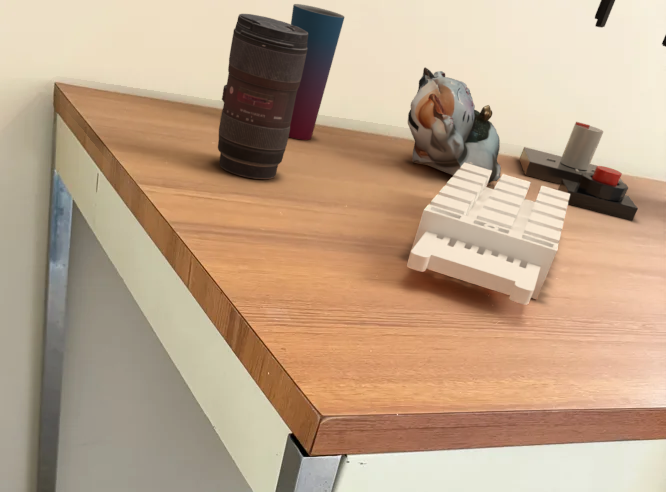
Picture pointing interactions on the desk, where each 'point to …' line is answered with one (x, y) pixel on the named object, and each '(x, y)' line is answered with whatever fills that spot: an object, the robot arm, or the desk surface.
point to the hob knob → (581, 146)
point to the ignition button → (607, 175)
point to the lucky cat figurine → (451, 127)
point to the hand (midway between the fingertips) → (631, 36)
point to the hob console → (550, 167)
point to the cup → (313, 65)
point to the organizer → (491, 233)
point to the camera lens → (260, 95)
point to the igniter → (599, 196)
